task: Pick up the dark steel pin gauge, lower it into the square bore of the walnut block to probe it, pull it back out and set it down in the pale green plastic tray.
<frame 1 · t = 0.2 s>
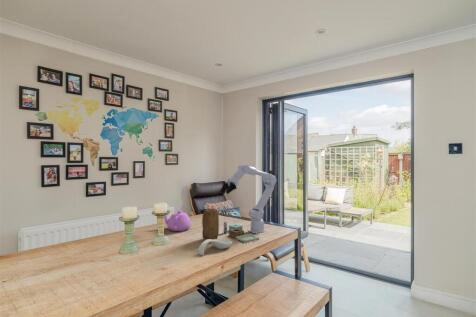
hand: (223, 192, 179), 31 cm above the table, tool tilted 45°, fingers open, 7 cm apart
block: (209, 240, 174), on the table
walnut bore block: (236, 236, 184), on the table
pin gauge: (225, 233, 190), on the table
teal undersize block: (235, 231, 196), on the table
tray: (247, 239, 178), on the table
spoon rest: (215, 250, 157), on the table
teapot: (176, 229, 198), on the table
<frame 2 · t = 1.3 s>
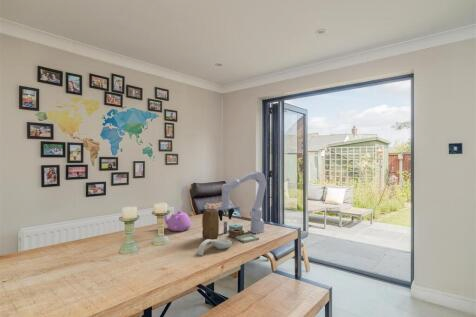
hand: (225, 219, 190), 10 cm above the table, tool pointing down, fingers open, 7 cm apart
nothing on the table moved.
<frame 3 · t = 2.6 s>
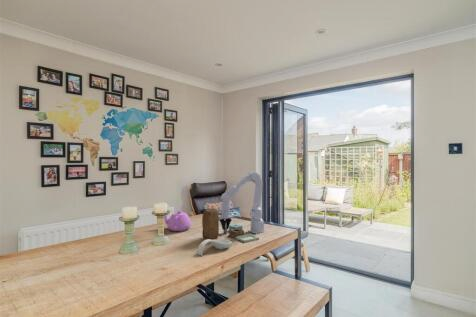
hand: (225, 229, 190), 3 cm above the table, tool pointing down, fingers closed on pin gauge, 2 cm apart
pin gauge: (225, 233, 190), on the table, touching gripper
everything else where it was.
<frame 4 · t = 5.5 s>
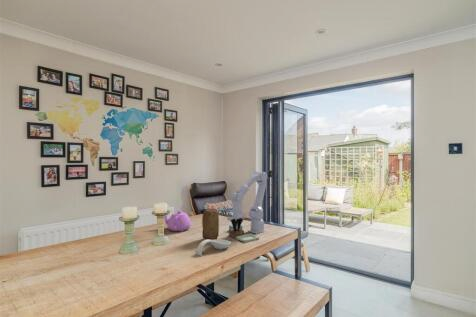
hand: (236, 229, 184), 4 cm above the table, tool pointing down, fingers closed on pin gauge, 2 cm apart
pin gauge: (236, 234, 184), point 1 cm above the table, touching gripper
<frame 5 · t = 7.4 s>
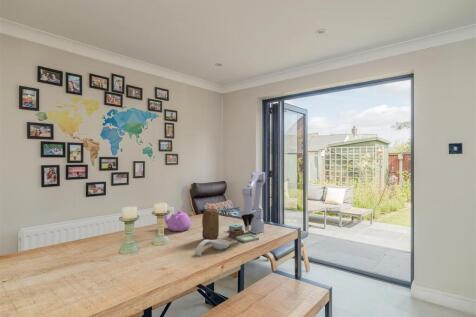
hand: (247, 225, 178), 9 cm above the table, tool pointing down, fingers closed on pin gauge, 2 cm apart
pin gauge: (246, 230, 178), point 6 cm above the table, touching gripper
when the fingers open (4 cm above the table, at t = 8.5 s): pin gauge stays where it is, resting on tray.
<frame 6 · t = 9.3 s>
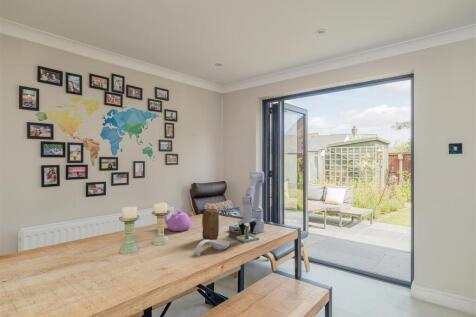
hand: (247, 233, 178), 4 cm above the table, tool pointing down, fingers open, 7 cm apart
pin gauge: (246, 238, 178), resting on tray
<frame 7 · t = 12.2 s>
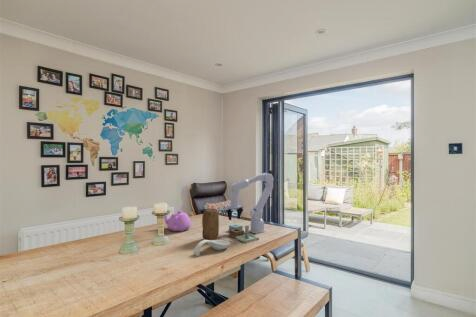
hand: (234, 219, 191), 10 cm above the table, tool pointing down, fingers open, 7 cm apart
at the end: pin gauge inside the target area on the tray (0.4 cm from its centre), point 0.5 cm above the tray's base; the gripper is holding nothing; pin gauge moved 19.3 cm from its start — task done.
